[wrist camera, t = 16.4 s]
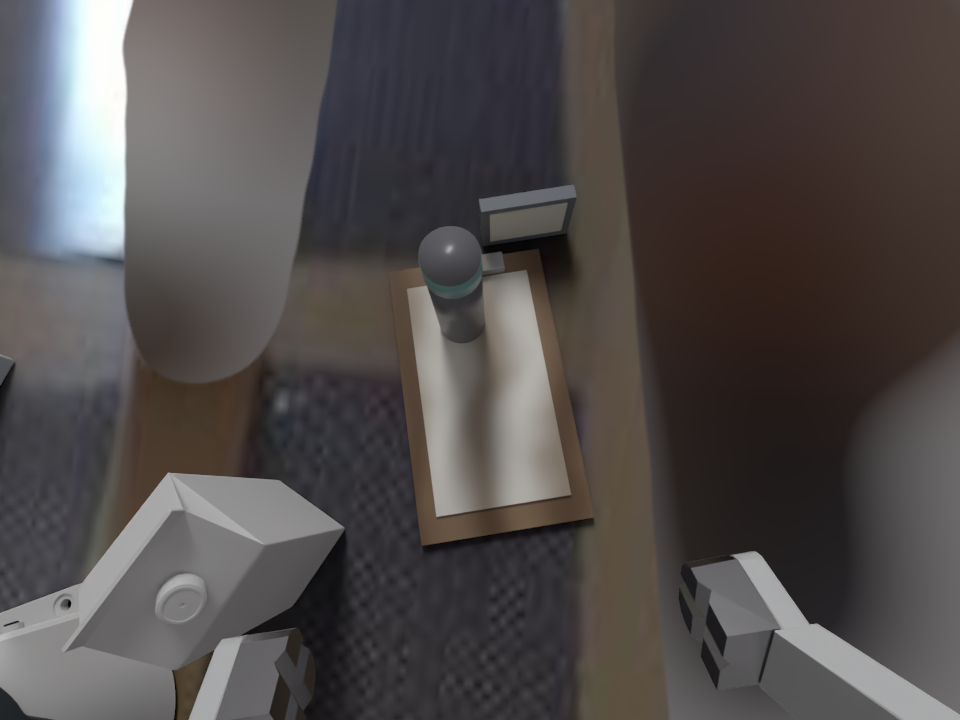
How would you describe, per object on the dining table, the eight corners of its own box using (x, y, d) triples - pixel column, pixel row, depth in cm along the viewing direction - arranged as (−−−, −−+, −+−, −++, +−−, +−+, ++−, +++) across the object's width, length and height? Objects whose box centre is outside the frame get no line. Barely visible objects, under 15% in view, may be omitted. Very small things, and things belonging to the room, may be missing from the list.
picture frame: (483, 248, 47) (481, 213, 42) (480, 235, 48) (478, 199, 42) (567, 234, 47) (576, 198, 42) (564, 222, 48) (573, 184, 42)
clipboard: (422, 545, 41) (419, 547, 39) (389, 275, 47) (386, 267, 45) (592, 517, 41) (596, 518, 39) (538, 251, 47) (539, 243, 46)
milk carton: (225, 554, 41) (6, 603, 23) (279, 479, 42) (115, 468, 24) (292, 607, 40) (120, 703, 21) (346, 528, 41) (228, 554, 23)
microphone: (442, 347, 44) (421, 288, 32) (436, 304, 45) (413, 230, 33) (488, 339, 44) (486, 278, 32) (481, 296, 45) (476, 220, 33)
